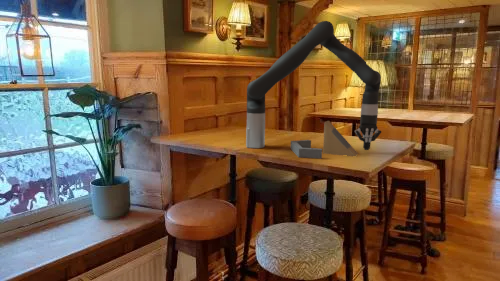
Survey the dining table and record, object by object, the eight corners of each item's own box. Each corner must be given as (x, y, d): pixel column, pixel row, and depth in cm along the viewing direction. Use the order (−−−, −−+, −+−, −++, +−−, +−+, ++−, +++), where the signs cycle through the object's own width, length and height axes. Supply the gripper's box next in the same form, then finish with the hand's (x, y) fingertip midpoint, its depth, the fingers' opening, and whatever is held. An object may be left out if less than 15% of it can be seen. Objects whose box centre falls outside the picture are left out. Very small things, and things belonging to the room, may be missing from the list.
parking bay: (299, 158, 157) (300, 149, 157) (289, 147, 181) (289, 139, 180) (323, 158, 158) (323, 149, 158) (309, 147, 182) (310, 139, 181)
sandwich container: (356, 157, 163) (358, 124, 160) (322, 153, 169) (324, 122, 166) (358, 153, 170) (361, 122, 168) (326, 150, 176) (328, 120, 174)
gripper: (379, 112, 173) (376, 148, 176) (352, 112, 172) (350, 148, 175) (386, 114, 165) (383, 151, 169) (358, 114, 164) (355, 151, 168)
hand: (366, 149), depth 172 cm, fingers closed
